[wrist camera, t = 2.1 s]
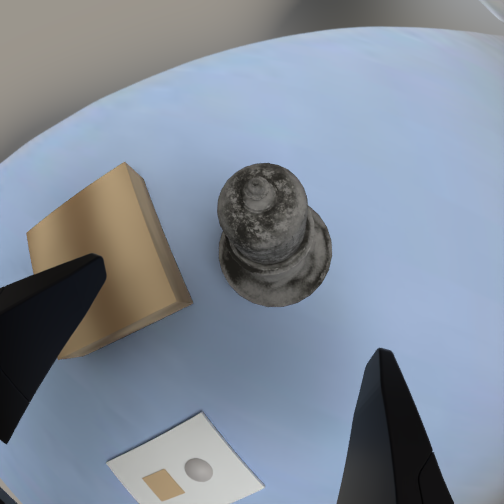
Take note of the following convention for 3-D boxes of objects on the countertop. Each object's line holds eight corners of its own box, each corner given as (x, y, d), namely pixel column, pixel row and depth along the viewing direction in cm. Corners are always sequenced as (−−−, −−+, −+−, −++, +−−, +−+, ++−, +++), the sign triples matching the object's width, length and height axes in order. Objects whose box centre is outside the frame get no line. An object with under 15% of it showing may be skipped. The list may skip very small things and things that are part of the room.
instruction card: (162, 525, 16) (160, 527, 16) (107, 461, 18) (105, 463, 18) (265, 485, 16) (264, 488, 16) (202, 411, 18) (200, 413, 18)
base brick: (83, 356, 20) (57, 359, 17) (50, 241, 22) (26, 232, 19) (193, 303, 20) (176, 301, 17) (143, 179, 22) (124, 161, 19)
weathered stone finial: (343, 250, 19) (407, 163, 7) (287, 327, 19) (277, 351, 7) (268, 198, 20) (237, 68, 9) (213, 270, 20) (110, 211, 8)
